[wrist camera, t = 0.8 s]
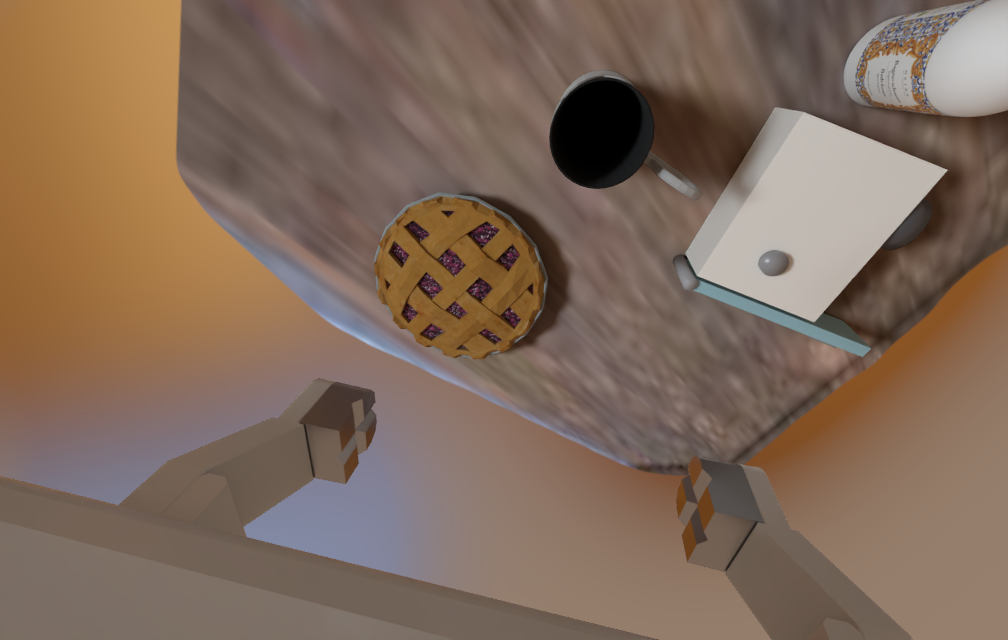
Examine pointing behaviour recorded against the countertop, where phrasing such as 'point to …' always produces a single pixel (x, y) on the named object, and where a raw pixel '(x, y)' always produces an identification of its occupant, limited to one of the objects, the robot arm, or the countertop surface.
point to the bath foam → (935, 61)
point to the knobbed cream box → (810, 213)
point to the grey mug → (608, 134)
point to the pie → (460, 276)
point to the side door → (774, 312)
